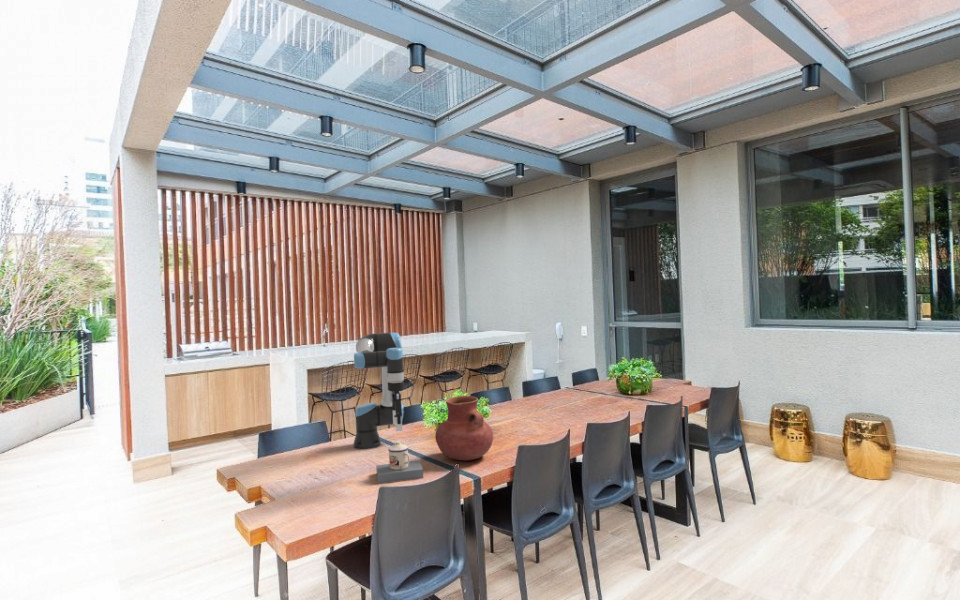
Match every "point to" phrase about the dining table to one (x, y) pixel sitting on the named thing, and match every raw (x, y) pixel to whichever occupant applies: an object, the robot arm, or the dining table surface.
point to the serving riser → (399, 472)
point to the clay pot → (464, 430)
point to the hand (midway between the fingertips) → (397, 427)
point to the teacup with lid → (398, 456)
